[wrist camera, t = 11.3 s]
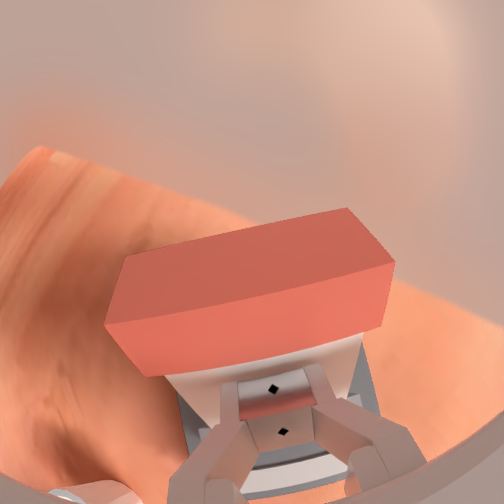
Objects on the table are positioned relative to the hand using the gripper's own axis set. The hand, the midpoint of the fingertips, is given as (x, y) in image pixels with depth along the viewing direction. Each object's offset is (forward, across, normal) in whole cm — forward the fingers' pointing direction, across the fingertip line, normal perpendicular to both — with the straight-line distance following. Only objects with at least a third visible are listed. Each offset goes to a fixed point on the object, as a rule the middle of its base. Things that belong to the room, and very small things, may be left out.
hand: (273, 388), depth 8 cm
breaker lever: (+4, 0, +7) cm, 8 cm away
